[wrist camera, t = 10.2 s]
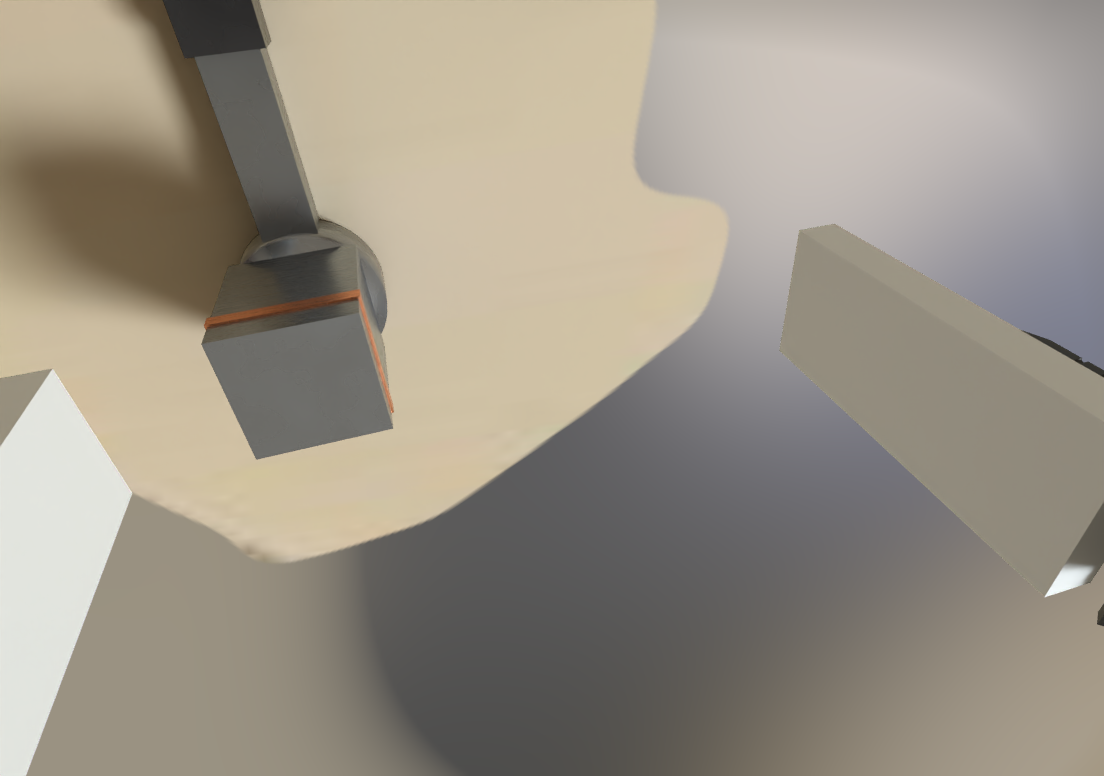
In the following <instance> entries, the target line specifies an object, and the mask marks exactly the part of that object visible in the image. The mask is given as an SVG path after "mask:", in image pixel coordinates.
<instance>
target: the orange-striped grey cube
mask: <svg viewBox="0 0 1104 776" xmlns="http://www.w3.org/2000/svg"><path fill="white" fill-rule="evenodd" d="M204 327H205V329H206V332H205V335H204V338H203V341H202V346H203V349H204V351H205V353H206V355H207V357H208V359H209V361H210V363H211V365H212V367H213V370H214V372H215V374H216V376H217V378H218V380H219V382H220V384H221V386H222V388H223V391H224V393H225V395H226V397H227V399H228V401H229V403H230V405H231V407H232V409H233V411H234V414H235V416H236V418H237V420H238V422H239V424H240V426H241V428H242V430H243V432H244V435H245V437H246V439H247V441H248V443H249V445H250V447H251V449H252V451H253V453H254V456H255V458H256V459H261V458H265V457H270V456H274V455H278V454H283V453H287V452H292V451H296V450H300V449H305V448H309V447H314V446H318V445H322V444H327V443H331V442H336V441H340V440H344V439H349V438H353V437H358V436H362V435H366V434H371V433H375V432H380V431H384V430H388V429H393V422H392V413H393V412H394V409H393V403H392V399H391V396H390V392H389V384H388V375H387V365H386V356H385V347H384V343H383V339H382V336H381V332H380V328H379V325H378V321H377V318H376V314H375V310H374V307H373V303H372V300H371V296H370V293H369V289H368V285H367V282H366V278H365V275H364V271H363V267H362V264H361V260H360V257H359V253H358V250H357V246H356V244H351V245H345V246H339V247H334V248H328V249H323V250H317V251H311V252H306V253H300V254H295V255H289V256H283V257H278V258H272V259H267V260H261V261H255V262H250V263H244V264H238V265H233V266H229V267H228V270H227V272H226V275H225V278H224V281H223V284H222V287H221V290H220V292H219V295H218V298H217V301H216V304H215V307H214V310H213V312H212V315H211V317H210V318H206V321H205V324H204Z"/></svg>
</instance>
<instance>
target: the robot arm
mask: <svg viewBox="0 0 1104 776" xmlns="http://www.w3.org/2000/svg"><path fill="white" fill-rule="evenodd" d="M780 352H782V353H783V354H784V355H785V356H786V357H787V358H788V359H789V360H790V361H791V362H792V363H793V364H794V365H796V366H797V367H798V368H799V369H800V370H801V371H802V372H803V373H804V374H805V375H806V376H807V377H808V378H809V379H811V380H812V381H813V382H814V383H815V384H816V385H817V386H818V387H819V388H820V389H821V390H822V391H824V392H825V393H826V394H827V395H828V396H829V397H830V398H831V399H832V400H833V401H834V402H835V403H836V404H837V405H838V406H840V407H841V408H842V409H843V410H844V411H845V412H846V413H847V414H848V415H849V416H850V417H851V418H852V419H854V420H855V421H856V422H857V423H858V424H859V425H860V426H861V427H862V428H863V429H864V430H865V431H866V432H867V433H869V434H870V435H871V436H872V437H873V438H874V439H875V440H876V441H877V442H878V443H879V444H880V445H881V446H883V447H884V448H885V449H886V450H887V451H888V452H889V453H890V454H891V455H892V456H894V458H895V459H896V460H898V461H899V462H900V463H901V464H902V465H903V466H904V467H905V468H906V469H907V470H908V471H910V473H912V474H913V475H914V476H915V477H916V478H917V479H918V480H919V481H920V482H921V483H922V484H923V485H924V486H926V487H927V488H928V489H929V490H930V491H931V492H932V493H933V494H934V495H935V496H936V497H937V498H939V499H940V500H941V501H942V502H943V503H944V504H945V505H946V506H947V507H948V508H949V509H950V510H951V511H952V512H953V513H955V514H956V515H957V516H958V517H959V518H960V519H961V520H962V521H963V522H964V523H965V524H966V525H968V526H969V527H970V528H971V529H972V530H973V531H974V532H975V533H976V534H977V535H978V536H979V537H980V538H981V539H982V540H984V541H985V542H986V543H987V544H988V545H989V546H990V547H991V548H992V549H993V550H994V551H995V552H996V553H997V554H999V555H1000V556H1001V557H1002V558H1003V559H1004V560H1005V561H1006V562H1007V563H1008V564H1009V565H1010V566H1011V567H1013V568H1014V569H1015V570H1016V571H1017V572H1018V573H1019V574H1020V575H1021V576H1022V577H1023V578H1024V579H1025V580H1026V581H1028V582H1029V583H1030V584H1031V585H1032V586H1033V587H1034V588H1035V589H1036V590H1037V591H1038V592H1039V593H1040V594H1041V595H1043V596H1044V597H1047V596H1049V595H1053V594H1056V593H1059V592H1062V591H1065V590H1068V589H1072V588H1075V587H1077V586H1081V585H1084V584H1087V583H1090V582H1091V581H1092V579H1093V578H1094V576H1095V575H1096V573H1097V572H1098V570H1099V569H1100V567H1101V566H1102V564H1103V563H1104V370H1102V369H1101V368H1099V367H1097V366H1095V365H1093V364H1092V363H1090V362H1085V363H1084V362H1082V358H1081V357H1079V356H1077V355H1076V354H1074V353H1072V352H1070V351H1069V350H1067V349H1065V348H1063V347H1061V346H1060V345H1058V344H1056V343H1054V342H1053V341H1051V340H1048V339H1045V338H1042V337H1040V336H1037V335H1034V334H1031V333H1028V332H1025V331H1022V330H1020V329H1018V328H1016V327H1014V326H1012V325H1011V324H1009V323H1007V322H1005V321H1004V320H1002V319H1000V318H998V317H997V316H995V315H993V314H991V313H989V312H988V311H986V310H985V309H983V308H981V307H979V306H977V305H976V304H974V303H972V302H970V301H969V300H967V299H965V298H963V297H962V296H960V295H958V294H956V293H955V292H953V291H951V290H949V289H948V288H946V287H944V286H942V285H941V284H939V283H937V282H935V281H934V280H932V279H930V278H928V277H927V276H925V275H923V274H921V273H920V272H918V271H916V270H914V269H913V268H911V267H909V266H907V265H906V264H904V263H902V262H900V261H899V260H897V259H895V258H893V257H892V256H890V255H888V254H886V253H885V252H883V251H881V250H879V249H878V248H876V247H874V246H872V245H871V244H869V243H867V242H865V241H864V240H862V239H860V238H858V237H857V236H855V235H853V234H851V233H850V232H848V231H846V230H844V229H843V228H841V227H839V226H837V225H836V224H831V225H825V226H820V227H815V228H810V229H804V230H799V235H798V242H797V247H796V254H795V260H794V266H793V272H792V278H791V284H790V290H789V296H788V302H787V308H786V314H785V320H784V326H783V332H782V338H781V344H780ZM131 495H132V492H131V490H130V489H129V487H128V486H127V484H126V483H125V481H124V479H123V478H122V476H121V475H120V473H119V472H118V470H117V469H116V467H115V465H114V464H113V462H112V461H111V459H110V458H109V456H108V454H107V453H106V451H105V450H104V448H103V447H102V445H101V444H100V442H99V440H98V439H97V437H96V436H95V434H94V433H93V431H92V429H91V428H90V426H89V425H88V423H87V422H86V420H85V418H84V417H83V415H82V414H81V412H80V411H79V409H78V408H77V406H76V404H75V403H74V401H73V400H72V398H71V397H70V395H69V393H68V392H67V390H66V389H65V387H64V386H63V384H62V382H61V381H60V379H59V378H58V376H57V375H56V373H55V372H54V370H53V369H48V370H43V371H38V372H32V373H27V374H21V375H16V376H11V377H5V378H0V776H26V774H27V771H28V768H29V766H30V763H31V761H32V758H33V755H34V753H35V750H36V747H37V745H38V742H39V740H40V737H41V734H42V731H43V729H44V726H45V724H46V721H47V718H48V716H49V713H50V710H51V708H52V705H53V702H54V700H55V697H56V694H57V692H58V689H59V686H60V684H61V681H62V678H63V676H64V673H65V670H66V668H67V665H68V662H69V660H70V657H71V654H72V652H73V649H74V647H75V644H76V641H77V639H78V636H79V633H80V631H81V628H82V625H83V622H84V620H85V617H86V615H87V612H88V609H89V607H90V604H91V601H92V598H93V596H94V593H95V591H96V588H97V585H98V583H99V580H100V577H101V574H102V572H103V569H104V567H105V564H106V561H107V559H108V556H109V553H110V551H111V548H112V545H113V543H114V540H115V538H116V535H117V532H118V529H119V527H120V524H121V522H122V518H123V516H124V514H125V511H126V508H127V505H128V503H129V500H130V498H131ZM1097 624H1098V625H1102V626H1104V604H1103V606H1102V607H1101V609H1100V610H1099V611H1098V620H1097Z"/></svg>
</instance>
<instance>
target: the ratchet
mask: <svg viewBox="0 0 1104 776" xmlns="http://www.w3.org/2000/svg"><path fill="white" fill-rule="evenodd" d="M163 2H164V5H165V7H166V10H167V13H168V15H169V18H170V20H171V23H172V26H173V28H174V31H175V34H176V36H177V39H178V42H179V44H180V47H181V50H182V52H183V55H184V58H192V57H194V58H195V61H196V63H197V66H198V69H199V72H200V74H201V77H202V80H203V82H204V85H205V88H206V91H207V93H208V96H209V99H210V101H211V104H212V107H213V109H214V112H215V115H216V118H217V120H218V123H219V126H220V128H221V131H222V134H223V137H224V139H225V142H226V145H227V147H228V150H229V153H230V155H231V158H232V161H233V164H234V166H235V169H236V172H237V174H238V177H239V180H240V183H241V185H242V188H243V191H244V193H245V196H246V199H247V201H248V204H249V207H250V210H251V212H252V215H253V218H254V220H255V223H256V226H257V229H258V231H259V234H258V235H257V236H256V237H255V238H254V239H253V240H252V241H251V242H250V244H249V245H248V247H247V248H246V250H245V252H244V253H243V255H242V258H241V261H240V264H244V263H250V262H255V261H261V260H267V259H272V258H278V257H283V256H289V255H295V254H300V253H306V252H311V251H317V250H323V249H328V248H334V247H339V246H345V245H351V244H356V246H357V250H358V253H359V257H360V260H361V264H362V267H363V271H364V275H365V278H366V282H367V285H368V289H369V293H370V296H371V300H372V303H373V307H374V310H375V314H376V318H377V321H378V325H379V328H380V332H381V333H382V331H383V329H384V326H385V322H386V317H387V299H386V291H385V284H384V277H383V272H382V269H381V266H380V264H379V262H378V260H377V258H376V256H375V254H374V253H373V251H372V250H371V249H370V248H369V246H368V245H367V244H366V243H365V242H364V241H363V240H362V239H361V238H359V237H358V236H357V235H355V234H354V233H353V232H351V231H350V230H348V229H346V228H344V227H342V226H340V225H337V224H334V223H332V222H328V221H324V220H319V217H318V214H317V210H316V207H315V204H314V201H313V197H312V194H311V191H310V188H309V184H308V181H307V178H306V175H305V171H304V168H303V165H302V162H301V158H300V155H299V152H298V149H297V145H296V142H295V139H294V136H293V132H292V129H291V126H290V123H289V119H288V116H287V113H286V110H285V106H284V103H283V100H282V96H281V93H280V90H279V87H278V83H277V80H276V77H275V74H274V70H273V67H272V64H271V61H270V57H269V54H268V51H267V46H268V45H269V43H270V42H271V39H270V35H269V32H268V29H267V25H266V22H265V19H264V15H263V12H262V9H261V5H260V2H259V0H163Z"/></svg>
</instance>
